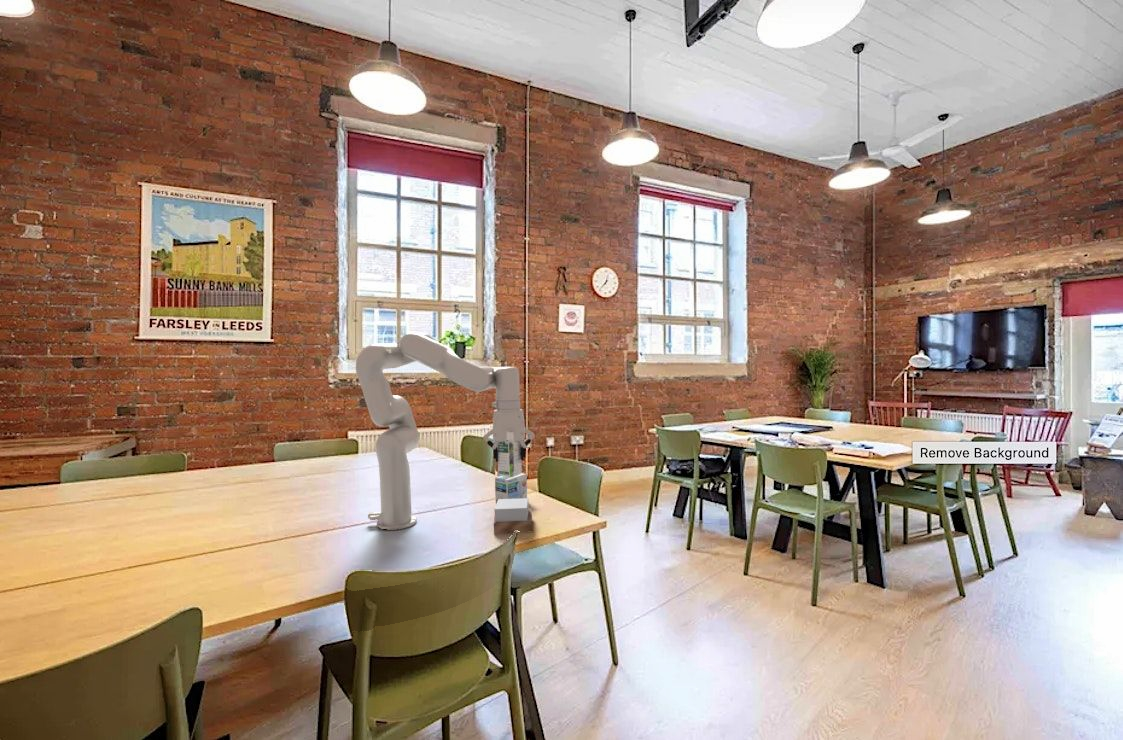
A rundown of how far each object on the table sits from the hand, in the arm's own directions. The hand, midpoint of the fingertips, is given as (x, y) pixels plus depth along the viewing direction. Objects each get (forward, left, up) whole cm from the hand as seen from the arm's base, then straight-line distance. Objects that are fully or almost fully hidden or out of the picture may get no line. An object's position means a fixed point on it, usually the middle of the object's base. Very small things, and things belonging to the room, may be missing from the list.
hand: (509, 460), depth 159 cm
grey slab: (0, 0, -18) cm, 18 cm away
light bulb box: (0, +23, -22) cm, 32 cm away
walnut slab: (+1, 0, -22) cm, 22 cm away
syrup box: (0, 0, -5) cm, 5 cm away
